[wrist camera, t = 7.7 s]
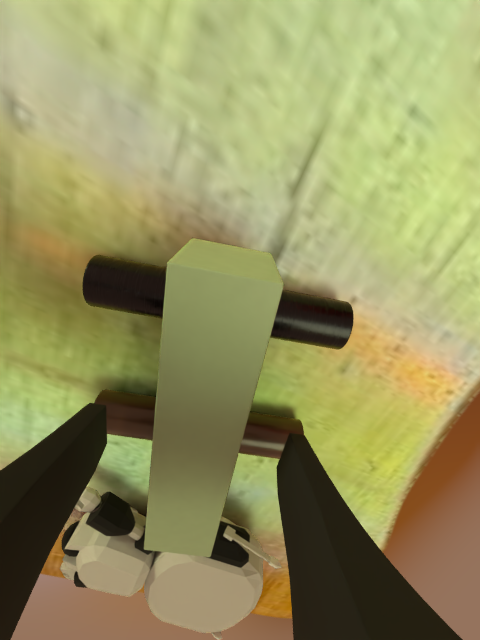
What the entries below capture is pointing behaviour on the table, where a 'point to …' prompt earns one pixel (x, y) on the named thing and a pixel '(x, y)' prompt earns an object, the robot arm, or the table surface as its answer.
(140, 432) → the walnut rod
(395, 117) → the table surface
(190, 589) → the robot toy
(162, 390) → the bar
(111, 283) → the black rod
